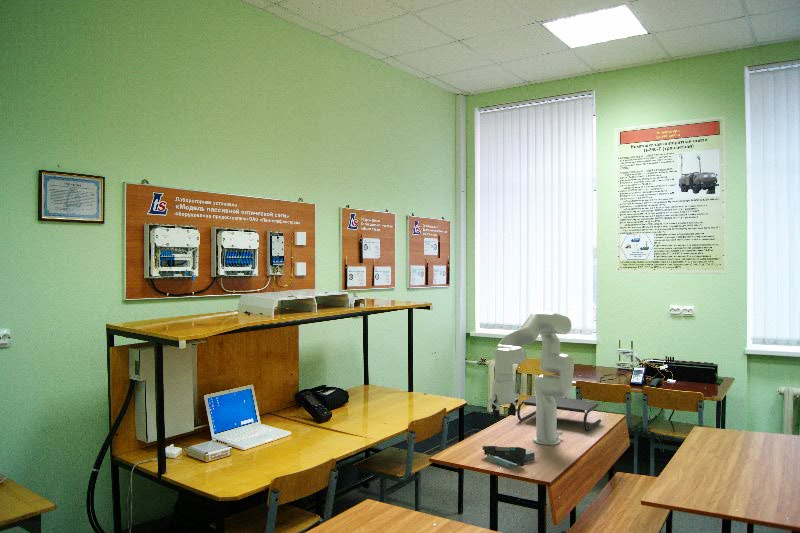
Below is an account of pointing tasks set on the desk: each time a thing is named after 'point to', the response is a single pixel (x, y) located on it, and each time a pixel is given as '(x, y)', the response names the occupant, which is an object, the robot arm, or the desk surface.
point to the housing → (529, 456)
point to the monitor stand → (565, 407)
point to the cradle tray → (502, 461)
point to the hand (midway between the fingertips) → (504, 417)
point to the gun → (507, 453)
